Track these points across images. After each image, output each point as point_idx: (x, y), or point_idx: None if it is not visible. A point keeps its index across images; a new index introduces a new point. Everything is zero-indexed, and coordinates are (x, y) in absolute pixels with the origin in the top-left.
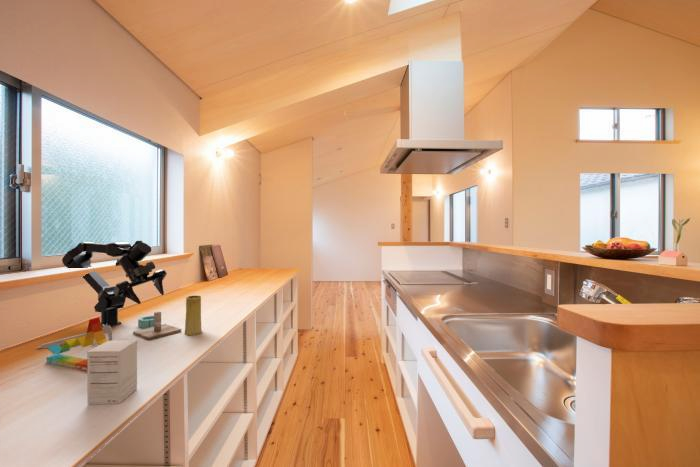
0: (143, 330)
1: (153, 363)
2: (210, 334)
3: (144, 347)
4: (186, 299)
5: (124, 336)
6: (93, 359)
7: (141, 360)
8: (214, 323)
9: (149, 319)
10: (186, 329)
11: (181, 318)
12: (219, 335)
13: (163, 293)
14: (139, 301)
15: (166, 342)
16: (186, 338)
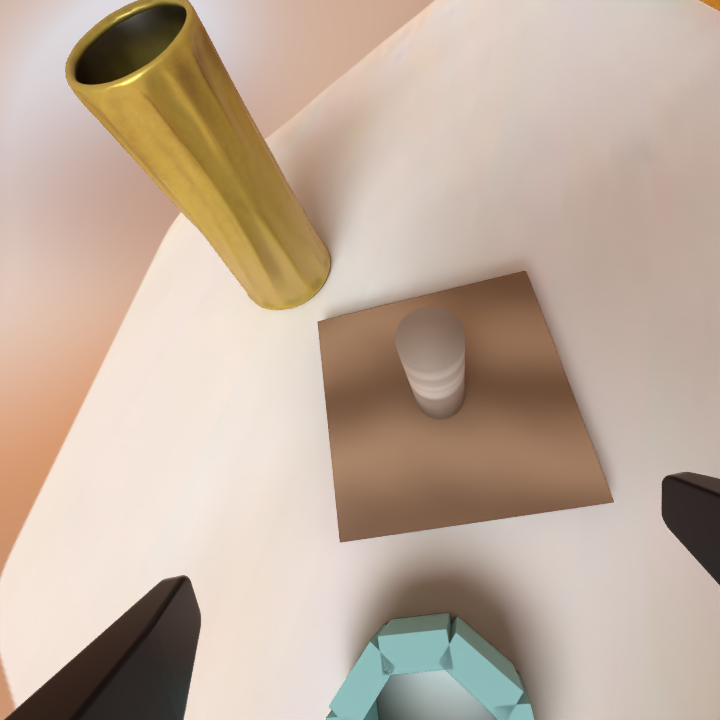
0: (531, 465)
1: (556, 16)
2: None
3: (563, 183)
4: (199, 54)
5: None
6: None
7: (596, 51)
8: (125, 367)
9: (445, 668)
10: (316, 243)
11: None
12: None
13: (167, 579)
14: (706, 481)
15: (449, 200)
16: (352, 207)
